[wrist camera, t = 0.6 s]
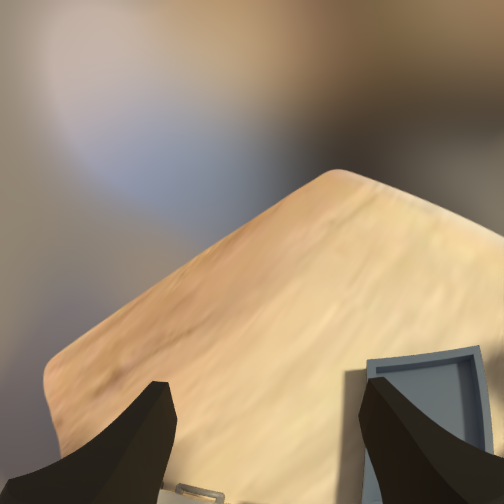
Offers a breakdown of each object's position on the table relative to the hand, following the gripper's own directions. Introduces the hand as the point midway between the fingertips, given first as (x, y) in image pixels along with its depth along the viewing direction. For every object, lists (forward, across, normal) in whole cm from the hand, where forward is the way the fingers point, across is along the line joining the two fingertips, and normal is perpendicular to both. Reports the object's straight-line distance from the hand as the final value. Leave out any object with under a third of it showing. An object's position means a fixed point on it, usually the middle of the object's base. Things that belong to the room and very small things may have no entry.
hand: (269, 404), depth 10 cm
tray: (+7, -14, +13) cm, 20 cm away
